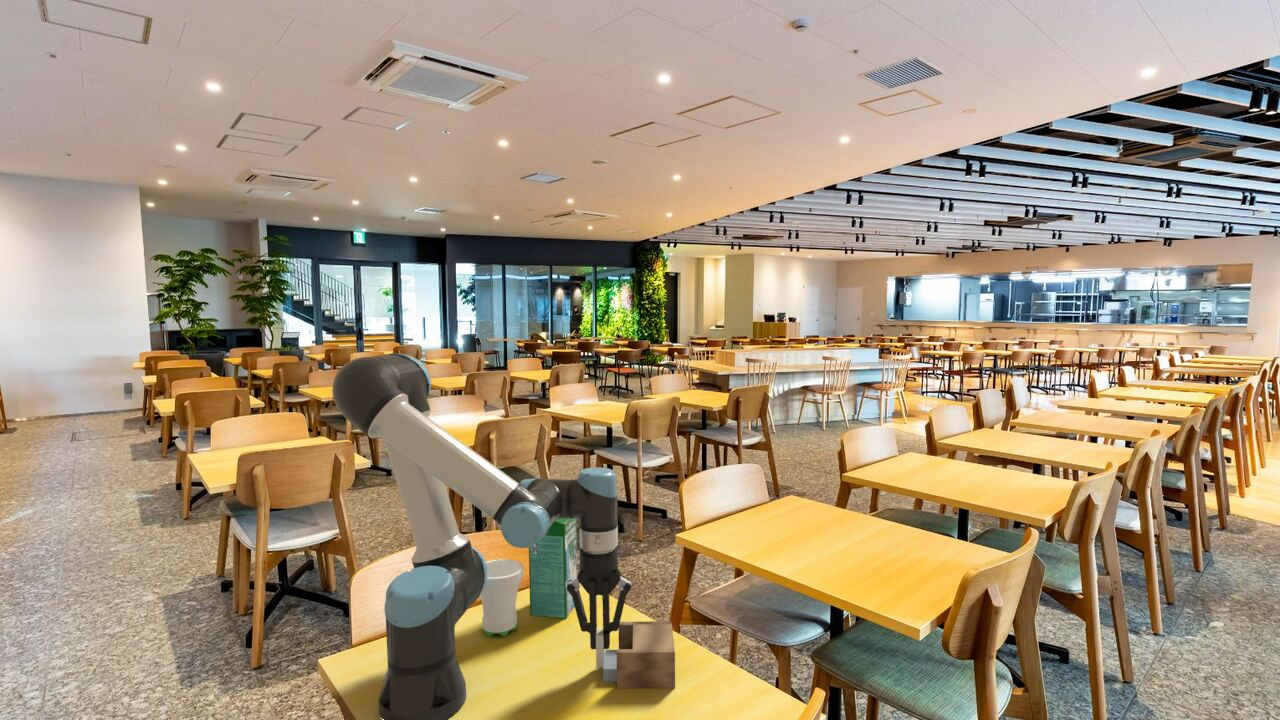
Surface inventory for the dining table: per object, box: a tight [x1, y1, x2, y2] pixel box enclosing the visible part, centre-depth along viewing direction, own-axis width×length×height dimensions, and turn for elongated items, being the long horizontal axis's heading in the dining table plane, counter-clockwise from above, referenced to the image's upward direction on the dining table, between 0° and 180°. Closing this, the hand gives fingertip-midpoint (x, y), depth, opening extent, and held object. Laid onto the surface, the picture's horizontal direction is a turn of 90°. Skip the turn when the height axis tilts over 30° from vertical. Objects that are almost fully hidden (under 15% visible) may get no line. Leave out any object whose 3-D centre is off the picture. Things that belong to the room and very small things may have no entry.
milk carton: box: [528, 518, 578, 619], centre depth 150 cm, size 9×9×25 cm
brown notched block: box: [616, 620, 676, 689], centre depth 124 cm, size 11×12×7 cm
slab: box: [602, 649, 617, 683], centre depth 124 cm, size 11×7×3 cm, turn 90°
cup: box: [479, 558, 525, 637], centre depth 140 cm, size 11×11×14 cm
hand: (600, 663), depth 124 cm, fingers closed
